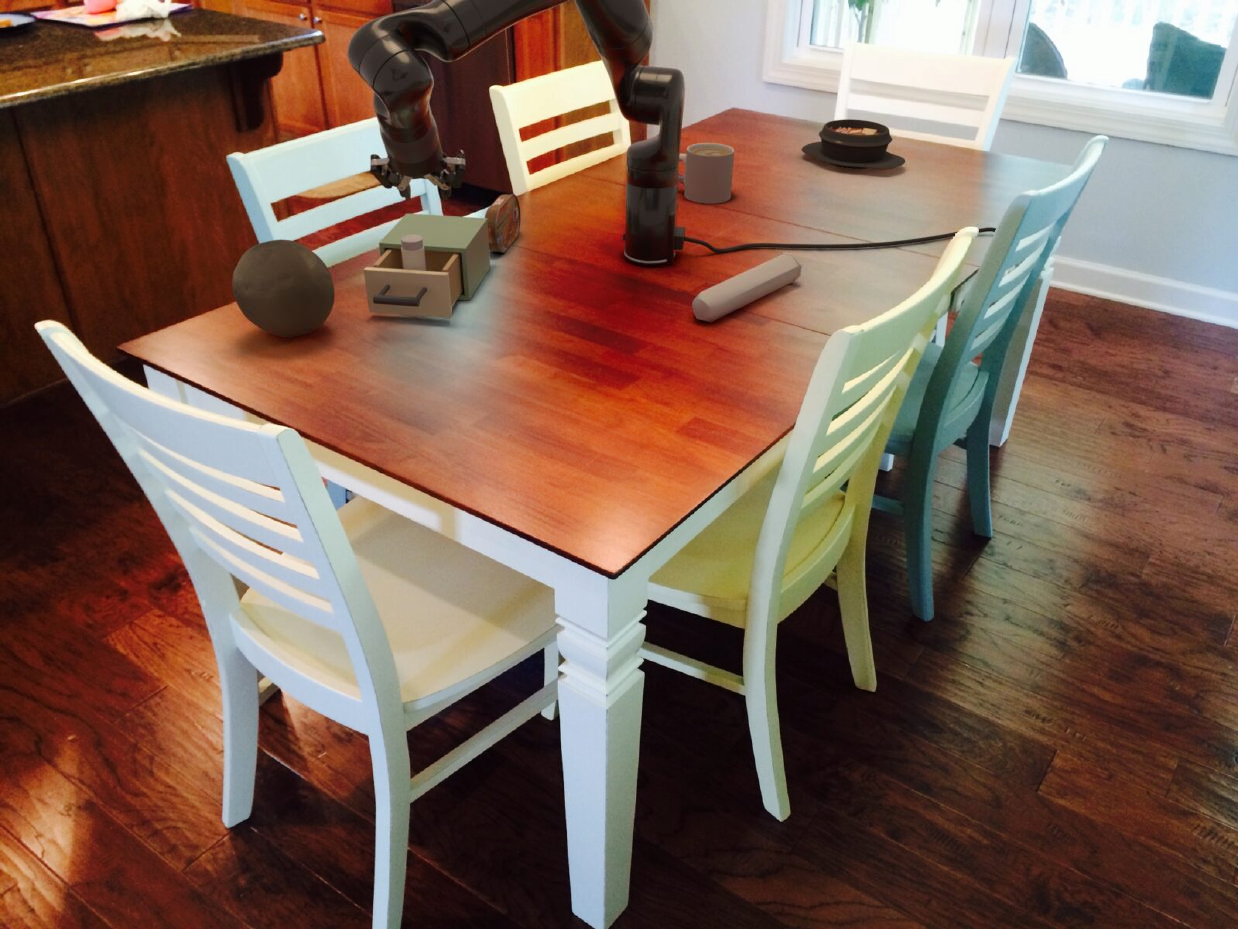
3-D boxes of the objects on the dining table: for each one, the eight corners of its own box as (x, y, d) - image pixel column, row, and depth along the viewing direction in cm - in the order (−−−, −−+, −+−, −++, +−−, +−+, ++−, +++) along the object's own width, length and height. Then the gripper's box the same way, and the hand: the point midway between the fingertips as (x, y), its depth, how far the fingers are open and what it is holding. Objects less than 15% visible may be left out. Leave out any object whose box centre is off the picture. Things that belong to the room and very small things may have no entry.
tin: (499, 259, 181) (497, 214, 176) (483, 257, 181) (480, 212, 177) (522, 231, 193) (521, 188, 188) (507, 229, 194) (505, 187, 189)
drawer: (440, 333, 152) (436, 289, 148) (356, 327, 154) (350, 283, 150) (472, 285, 168) (469, 244, 164) (396, 279, 170) (391, 239, 166)
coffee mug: (738, 194, 214) (742, 147, 208) (716, 206, 207) (720, 158, 201) (684, 183, 220) (687, 137, 214) (662, 194, 213) (663, 147, 207)
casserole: (785, 161, 235) (789, 125, 231) (824, 145, 247) (828, 110, 243) (881, 183, 222) (887, 145, 218) (917, 164, 234) (924, 128, 230)
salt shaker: (431, 293, 162) (426, 234, 157) (425, 302, 160) (419, 243, 154) (410, 292, 163) (404, 233, 157) (403, 300, 160) (396, 241, 154)
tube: (715, 307, 155) (806, 263, 170) (691, 287, 157) (783, 246, 172) (705, 333, 159) (795, 287, 174) (681, 313, 161) (772, 270, 176)
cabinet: (469, 300, 165) (465, 248, 160) (385, 294, 167) (378, 242, 162) (490, 267, 177) (487, 218, 172) (411, 262, 179) (406, 213, 174)
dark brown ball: (263, 315, 159) (245, 225, 151) (350, 318, 159) (337, 227, 151) (231, 355, 147) (210, 260, 139) (325, 358, 147) (310, 262, 139)
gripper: (357, 163, 133) (379, 218, 150) (463, 161, 134) (474, 216, 151) (357, 112, 135) (379, 172, 152) (463, 111, 136) (473, 171, 153)
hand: (426, 194), depth 151 cm, fingers open, 5 cm apart
